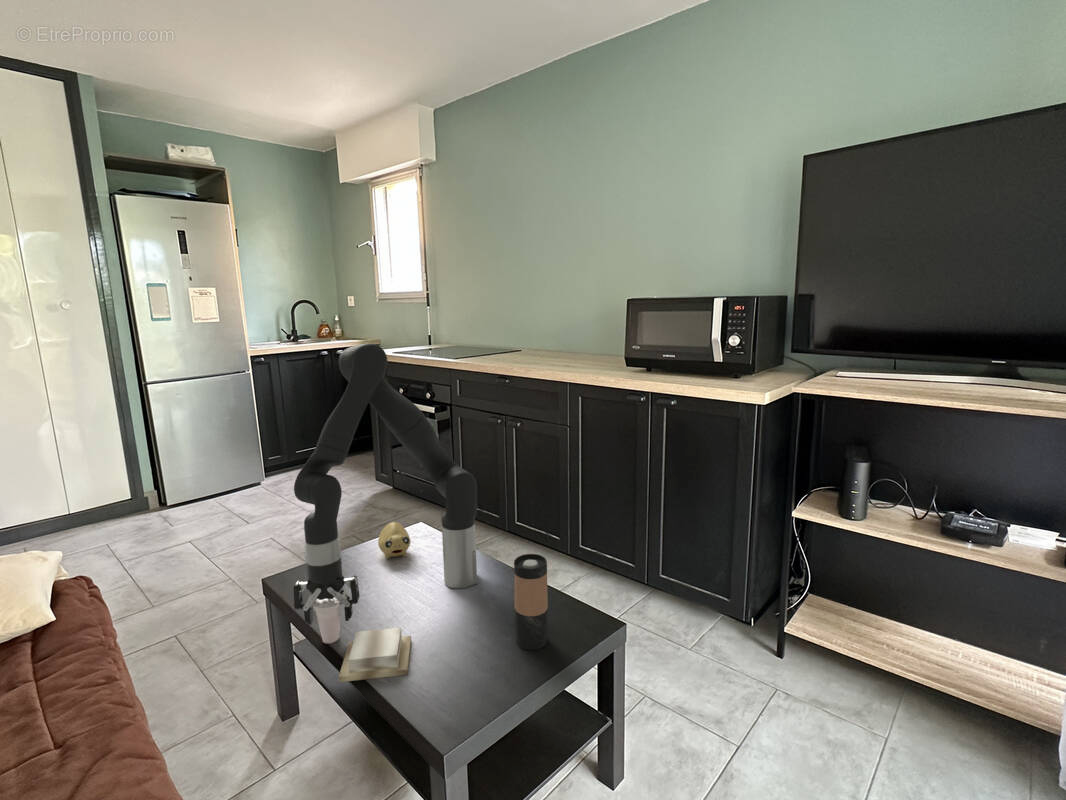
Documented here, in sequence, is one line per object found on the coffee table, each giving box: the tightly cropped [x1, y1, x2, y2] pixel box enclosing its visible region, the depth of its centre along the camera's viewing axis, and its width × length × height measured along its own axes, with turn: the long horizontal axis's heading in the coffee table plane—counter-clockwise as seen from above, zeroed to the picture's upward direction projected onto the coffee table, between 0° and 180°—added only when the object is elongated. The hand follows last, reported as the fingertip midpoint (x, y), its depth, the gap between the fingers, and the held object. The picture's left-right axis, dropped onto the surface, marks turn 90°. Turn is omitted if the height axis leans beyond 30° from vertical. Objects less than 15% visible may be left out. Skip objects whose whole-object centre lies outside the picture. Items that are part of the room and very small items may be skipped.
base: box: [338, 627, 412, 683], centre depth 119 cm, size 14×12×4 cm
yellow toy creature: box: [377, 521, 411, 559], centre depth 167 cm, size 10×12×11 cm
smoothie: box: [312, 597, 343, 644], centre depth 126 cm, size 6×6×14 cm
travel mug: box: [513, 553, 549, 651], centre depth 123 cm, size 8×8×20 cm
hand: (329, 621), depth 126 cm, fingers open, 8 cm apart
